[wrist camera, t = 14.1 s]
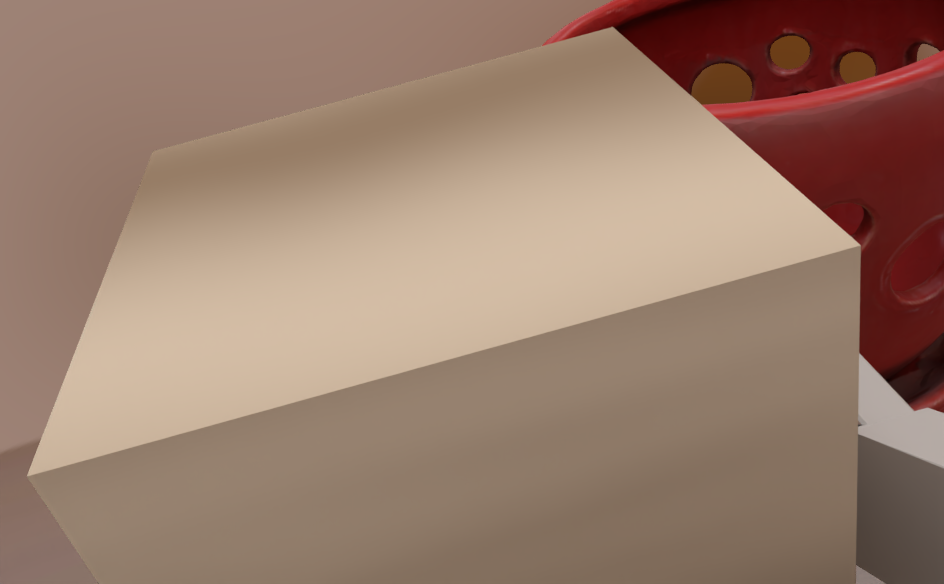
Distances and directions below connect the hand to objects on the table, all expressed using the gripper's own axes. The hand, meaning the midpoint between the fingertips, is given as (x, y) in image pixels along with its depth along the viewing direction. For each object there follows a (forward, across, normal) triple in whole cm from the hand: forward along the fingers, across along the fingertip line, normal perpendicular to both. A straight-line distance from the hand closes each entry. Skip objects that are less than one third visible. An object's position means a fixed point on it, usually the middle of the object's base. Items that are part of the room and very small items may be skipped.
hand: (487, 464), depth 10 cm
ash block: (-1, 0, +6) cm, 6 cm away
